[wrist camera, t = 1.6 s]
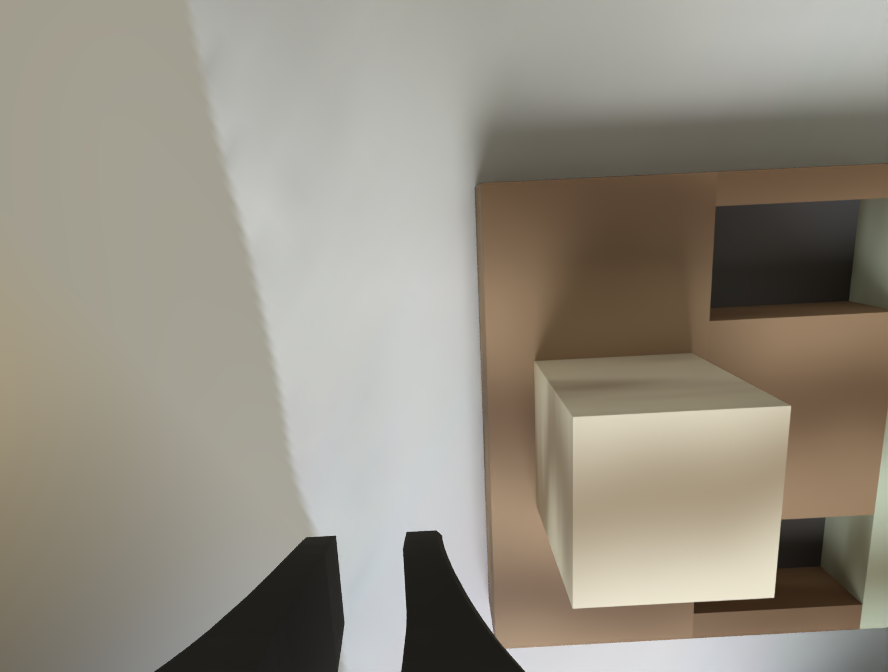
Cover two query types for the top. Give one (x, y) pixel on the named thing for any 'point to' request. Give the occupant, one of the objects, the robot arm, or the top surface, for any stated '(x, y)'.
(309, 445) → the top surface
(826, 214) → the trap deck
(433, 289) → the top surface
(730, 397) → the cream block
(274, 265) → the top surface
